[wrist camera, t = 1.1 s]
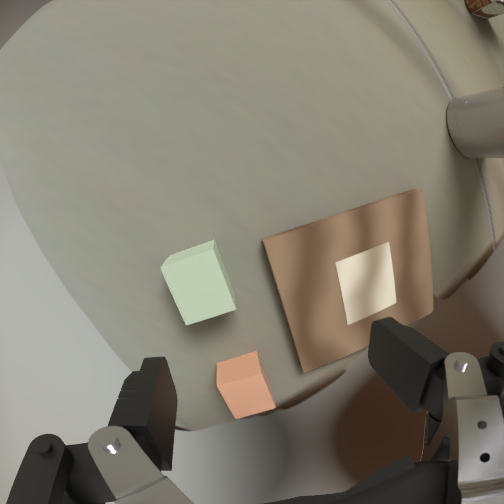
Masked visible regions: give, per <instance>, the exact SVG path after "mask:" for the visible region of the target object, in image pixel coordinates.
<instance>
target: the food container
mask: <svg viewBox="0 0 504 504" xmlns="http://www.w3.org/2000/svg"><path fill="white" fill-rule="evenodd" d="M464 2H465V5H466V7H467V9H468V11H469V12H470V14H472V15H476V16H479V17H483V18H486V19H489V18H492V17H495V16H498V15H500V14H503V13H504V0H464Z"/></svg>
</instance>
